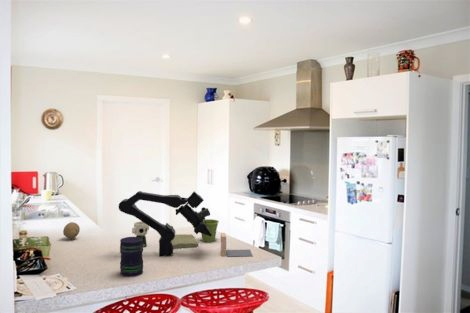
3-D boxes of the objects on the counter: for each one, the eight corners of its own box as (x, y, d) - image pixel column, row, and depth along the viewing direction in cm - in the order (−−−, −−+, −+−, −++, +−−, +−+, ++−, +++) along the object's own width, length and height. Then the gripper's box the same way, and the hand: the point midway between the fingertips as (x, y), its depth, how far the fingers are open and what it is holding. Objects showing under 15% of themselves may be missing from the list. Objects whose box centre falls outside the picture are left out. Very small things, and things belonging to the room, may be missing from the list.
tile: (221, 256, 201) (221, 236, 200) (220, 251, 209) (220, 232, 208) (226, 256, 201) (226, 236, 200) (225, 251, 209) (225, 232, 208)
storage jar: (120, 277, 169) (119, 243, 168) (120, 270, 178) (119, 237, 178) (144, 275, 172) (144, 241, 171) (142, 268, 181) (142, 236, 180)
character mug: (136, 249, 211) (136, 225, 211) (128, 247, 216) (128, 223, 215) (152, 245, 219) (152, 222, 219) (145, 243, 224) (145, 220, 223)
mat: (227, 256, 200) (227, 256, 200) (225, 250, 210) (225, 249, 210) (252, 256, 201) (252, 255, 201) (250, 250, 212) (250, 249, 212)
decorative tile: (192, 239, 236) (193, 233, 235) (198, 248, 216) (198, 241, 216) (161, 241, 231) (161, 234, 231) (164, 250, 211) (164, 244, 211)
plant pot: (194, 240, 231) (194, 221, 231) (210, 237, 239) (210, 218, 238) (206, 244, 222) (206, 224, 222) (222, 241, 230) (223, 221, 230)
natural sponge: (79, 240, 228) (79, 223, 228) (62, 242, 225) (62, 224, 224) (79, 237, 237) (79, 220, 236) (63, 238, 233) (63, 221, 233)
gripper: (200, 206, 193) (223, 228, 195) (201, 200, 212) (221, 220, 213) (184, 222, 193) (207, 244, 195) (186, 215, 212) (206, 235, 213)
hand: (211, 235), depth 204 cm, fingers closed
